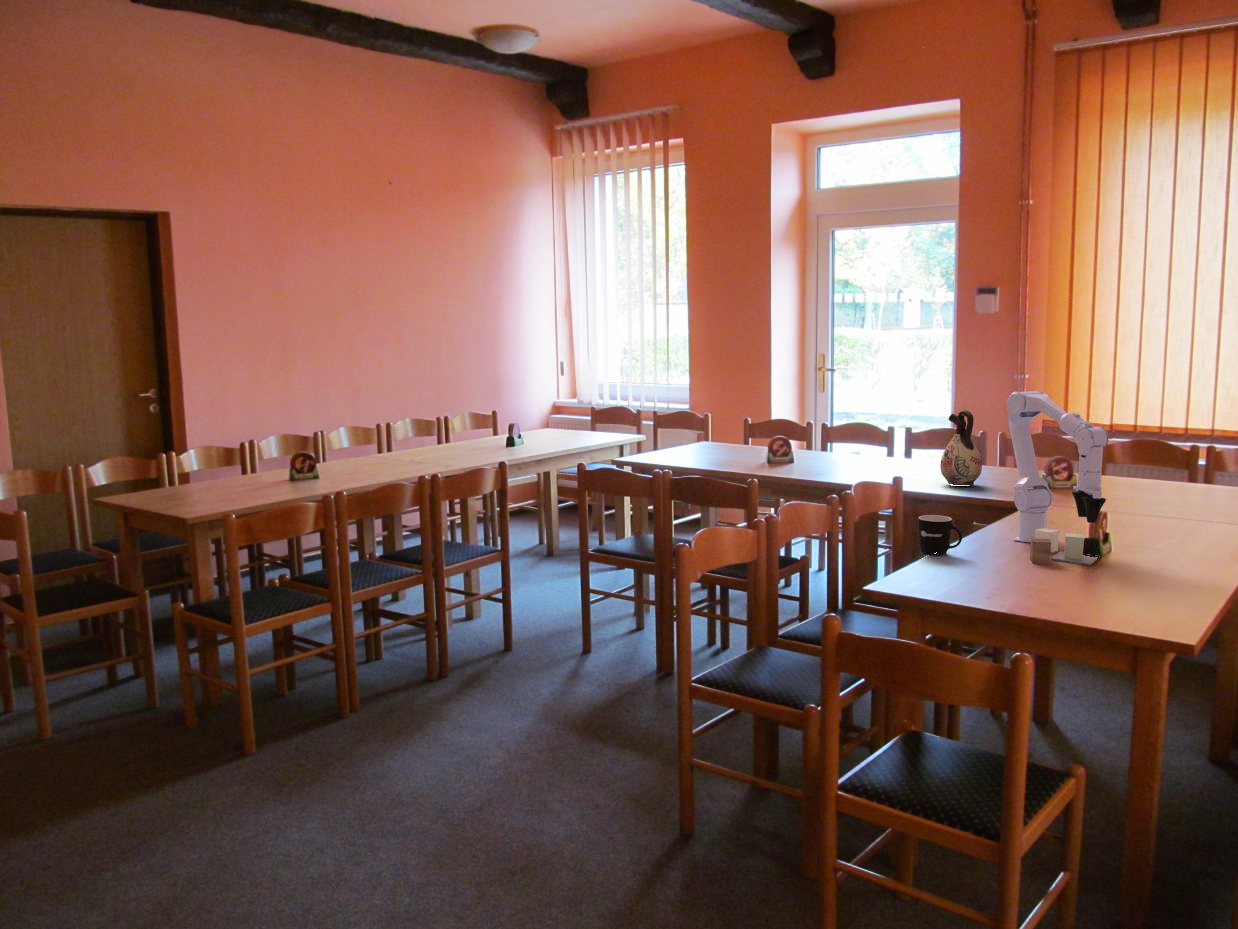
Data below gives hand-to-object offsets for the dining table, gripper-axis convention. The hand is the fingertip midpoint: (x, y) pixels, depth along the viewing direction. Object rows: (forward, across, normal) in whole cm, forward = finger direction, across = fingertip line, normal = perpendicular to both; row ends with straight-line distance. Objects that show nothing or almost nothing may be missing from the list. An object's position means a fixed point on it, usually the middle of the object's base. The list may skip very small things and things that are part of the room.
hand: (1087, 519), depth 271 cm
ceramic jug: (+10, -112, -11) cm, 113 cm away
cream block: (+10, -4, -9) cm, 14 cm away
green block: (+9, +6, -5) cm, 12 cm away
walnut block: (+10, +9, -14) cm, 20 cm away
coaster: (+10, +6, -4) cm, 12 cm away
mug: (+10, +3, -40) cm, 41 cm away
